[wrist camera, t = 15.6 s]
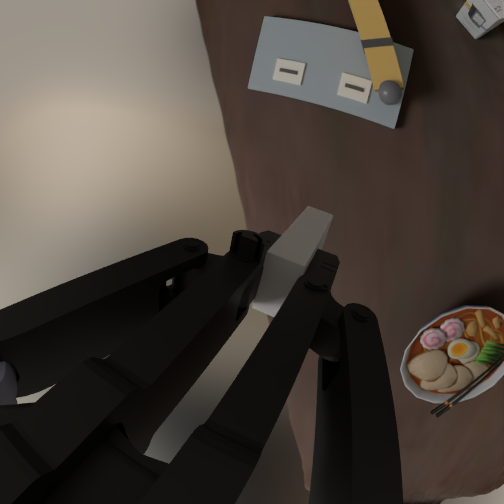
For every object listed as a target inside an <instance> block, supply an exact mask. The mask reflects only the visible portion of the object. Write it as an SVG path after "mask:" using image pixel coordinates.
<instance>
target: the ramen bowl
mask: <svg viewBox="0 0 504 504" xmlns="http://www.w3.org/2000/svg"><path fill="white" fill-rule="evenodd" d="M400 371H401V374H402V377H403V381H404V384H405V386H406V387H407V388H408V389H409V390H410V391H411V392H412V393H413V394H414V395H415V396H416V397H417V398H420V399H423V400H426V401H429V402H432V403H442V404H441V405H439V406H438V407H436V408H435V409H433V410H432V411H431V414H432V415H433V414H434V413H436V412H437V411H439V410H440V409H441V408H443V407H444V406H446V405H447V404H448V403H451V404H450V405H448V406H447V407H445V408H444V409H443V410H441V411H440V412H438V413H437V414H436V417H439V416H440V415H442V414H443V413H445V412H446V411H447V410H449V409H450V408H451V407H452V406H454V405H455V404H456V403H458V402H460V401H464V400H467V399H471V398H474V397H476V396H478V395H479V394H481V393H483V392H484V391H486V390H488V389H489V388H491V387H492V386H494V385H495V384H496V383H497V382H498V381H499V379H500V378H501V377H502V376H503V375H504V314H503V313H501V312H499V311H497V310H495V309H493V308H491V307H488V306H472V305H463V306H460V307H457V308H454V309H451V310H448V311H445V312H442V313H441V314H440V315H438V316H437V317H436V318H434V319H433V320H431V321H430V322H429V323H427V324H426V325H424V326H423V327H422V328H421V329H420V331H419V332H418V333H417V335H416V336H415V338H414V339H413V340H412V342H411V343H410V344H409V346H408V347H407V348H406V350H405V352H404V357H403V360H402V364H401V368H400Z"/></svg>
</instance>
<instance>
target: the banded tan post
mask: <svg viewBox="0 0 504 504" xmlns="http://www.w3.org/2000/svg"><path fill="white" fill-rule="evenodd" d="M347 1H348V4H349V7H351V10H352V13H353V16H354V19H355V22H356V25H357V28H358V32H359V35H360V38H361V43H362V47H363V51H364V54H365V55H366V59H367V63H368V67H369V71H370V75H371V79H372V83H373V87H374V92H379V98H380V100H381V101H382V102H383V103H384V104H386V105H394V104H396V103H397V102H398V101H399V100H400V98H401V96H402V90H403V88H404V85H403V81H402V76H401V72H400V68H399V64H398V61H397V57H396V53H395V50H394V44H393V40H392V37H390V33H389V30H388V27H387V24H386V21H385V18H384V15H383V13H382V10H381V7H380V4H379V2H378V0H347Z"/></svg>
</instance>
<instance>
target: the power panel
mask: <svg viewBox="0 0 504 504" xmlns="http://www.w3.org/2000/svg"><path fill="white" fill-rule="evenodd" d="M393 44H394V50H395V53H396V57H397V61H398V64H399V68H400V72H401V76H402V81H403V85H404V88H403V90H402V96H401V98H400V100H399V101H398V102H397V103H396V104H394V105H386V104H384V103H383V102H382V101H381V100H380V98H379V92H374V87H373V83H372V79H371V75H370V71H369V67H368V63H367V59H366V55H365V54H364V51H363V47H362V43H361V38H360V35H359V32H355V31H351V30H347V29H343V28H338V27H334V26H329V25H324V24H318V23H312V22H306V21H300V20H293V19H285V18H276V17H266V16H264V20H263V25H262V29H261V33H260V37H259V41H258V45H257V50H256V54H255V58H254V63H253V67H252V71H251V76H250V80H249V85H248V89H253V90H258V91H263V92H268V93H273V94H278V95H282V96H287V97H291V98H295V99H299V100H303V101H307V102H311V103H315V104H319V105H322V106H326V107H329V108H333V109H336V110H339V111H343V112H346V113H349V114H352V115H355V116H359V117H362V118H365V119H367V120H370V121H373V122H376V123H379V124H382V125H384V126H387V127H390V128H392V129H395V125H396V122H397V118H398V114H399V110H400V107H401V103H402V99H403V95H404V91H405V87H406V83H407V78H408V74H409V70H410V65H411V60H412V56H413V51H414V49H411V48H408V47H405V46H402V45H400V44H397V43H394V42H393Z"/></svg>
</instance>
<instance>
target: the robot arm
mask: <svg viewBox="0 0 504 504" xmlns="http://www.w3.org/2000/svg"><path fill="white" fill-rule="evenodd" d="M332 218H333V215H331V214H329V213H326V212H323V211H321V210H318V209H315V208H312V207H310V206H308V207H307V208H306V209H305V210H304V211H303V212H302V213H301V215H300V216H299V217H298V218H297V219H296V220H295V221H294V222H293V223H292V224H291V226H290V227H289V228H288V229H287V230H286V231H285V232H284V233H283V234H282V235H279V234H277V233H274V232H271V231H265V232H261V233H260V234H258V233H256V232H252V231H248V230H238V231H235V232H233V236H232V241H231V246H230V251H229V252H228V253H226V254H225V255H224V256H220V255H215V254H210V253H208V246H207V244H206V243H204V242H203V241H201V240H199V239H195V238H183V239H179V240H177V241H174V242H171V243H168V244H166V245H163V246H160V247H157V248H154V249H152V250H149V251H146V252H144V253H141V254H138V255H136V256H133V257H131V258H128V259H125V260H122V261H120V262H117V263H114V264H112V265H109V266H106V267H104V268H101V269H99V270H96V271H94V272H91V273H88V274H86V275H83V276H81V277H78V278H76V279H73V280H71V281H68V282H66V283H63V284H61V285H58V286H56V287H53V288H51V289H48V290H46V291H43V292H41V293H39V294H36V295H34V296H31V297H29V298H27V299H24V300H22V301H20V302H17V303H15V304H13V305H11V306H8V307H6V308H3V309H1V310H0V504H235V502H236V501H237V499H238V497H239V495H240V494H241V492H242V490H243V488H244V486H245V485H246V483H247V481H248V479H249V477H250V476H251V474H252V472H253V470H254V468H255V466H256V464H257V462H258V460H259V458H260V456H261V452H262V450H263V448H264V446H265V444H266V442H267V440H268V438H269V435H270V434H271V432H272V429H273V427H274V425H275V423H276V421H277V419H278V417H279V415H280V413H281V410H282V409H283V406H284V404H285V402H286V400H287V398H288V396H289V393H290V391H291V389H292V387H293V384H294V382H295V380H296V377H297V375H298V373H299V371H300V368H301V366H302V363H303V361H304V359H305V356H306V354H307V351H308V349H309V348H310V349H312V350H313V351H314V352H316V353H317V354H318V355H320V356H319V359H318V383H317V407H316V426H315V441H314V454H313V466H312V477H311V487H310V496H309V504H403V490H402V474H401V461H400V450H399V441H398V432H397V424H396V417H395V410H394V403H393V396H392V390H391V384H390V379H389V373H388V368H387V362H386V357H385V352H384V347H383V343H382V338H381V333H380V329H379V325H378V320H377V318H376V315H375V314H374V313H373V312H372V311H371V310H370V309H369V308H367V307H366V306H364V305H361V304H356V303H351V304H347V305H346V306H345V307H343V306H342V305H340V304H339V303H338V302H336V301H335V299H334V298H333V297H332V295H331V292H330V291H331V287H332V284H333V281H334V278H335V275H336V272H337V269H338V266H339V263H340V262H339V259H338V257H337V256H336V255H333V254H331V253H328V252H325V251H323V250H322V247H323V244H324V241H325V238H326V235H327V233H328V230H329V227H330V224H331V221H332ZM169 279H172V284H171V285H169V286H166V281H167V280H169ZM253 300H254V302H253V305H252V308H254V309H256V310H258V311H261V312H263V313H265V314H268V315H270V316H272V317H274V319H273V320H272V322H271V323H270V325H269V327H268V328H267V330H266V332H265V333H264V335H263V336H262V338H261V340H260V341H259V343H258V344H257V346H256V348H255V349H254V351H253V352H252V354H251V355H250V357H249V359H248V360H247V361H246V363H245V365H244V366H243V368H242V369H241V371H240V372H239V374H238V375H237V377H236V379H235V380H234V381H233V383H232V385H231V386H230V387H229V389H228V391H227V392H226V394H225V395H224V396H223V398H222V399H221V401H220V402H219V404H218V405H217V407H216V408H215V410H214V411H213V413H212V414H211V416H210V417H209V418H208V420H207V421H206V422H205V423H204V424H203V425H199V427H197V428H196V429H195V430H194V432H193V433H192V434H191V435H190V437H189V438H188V440H187V441H186V442H185V444H184V445H183V446H182V448H181V449H180V450H179V452H178V453H177V455H176V456H175V457H174V459H173V460H172V461H171V462H170V464H168V463H165V462H162V461H159V460H156V459H154V458H151V457H148V456H145V455H143V454H144V453H145V451H146V450H147V448H148V446H149V444H150V442H151V439H152V437H153V435H154V433H155V432H156V431H157V429H158V428H159V427H160V426H161V424H162V423H163V422H164V421H165V420H166V418H167V417H168V416H169V415H170V413H171V412H172V411H173V410H174V408H175V407H176V406H177V404H178V403H179V402H180V401H181V400H182V398H183V397H184V395H185V394H186V393H187V392H188V391H189V389H190V388H191V387H192V386H193V384H194V383H195V382H196V380H197V379H198V378H199V377H200V375H201V374H202V373H203V371H204V370H205V369H206V368H207V366H208V365H209V364H210V362H211V361H212V360H213V358H214V357H215V356H216V355H217V353H218V352H219V351H220V349H221V348H222V347H223V345H224V344H225V343H226V341H227V340H228V339H229V337H230V336H231V335H232V333H233V332H234V331H235V329H236V328H237V327H238V325H239V324H240V323H241V321H242V320H243V319H244V317H245V316H246V315H247V312H248V309H249V305H250V303H251V302H252V301H253ZM110 354H111V355H110ZM108 355H110V356H108ZM107 356H108V357H107ZM105 357H107V358H105ZM103 358H105V359H103ZM56 383H57V384H56ZM54 384H56V385H55V386H53V385H54ZM51 386H53V387H52V388H51V389H50V390H49V391H48V392H47V393H45V394H44V395H43V396H42V397H41V398H40V399H39V400H37V401H36V402H34V403H23V404H17V400H16V398H17V397H22V396H27V395H30V394H34V393H37V392H40V391H42V390H44V389H46V388H48V387H51Z"/></svg>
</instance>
